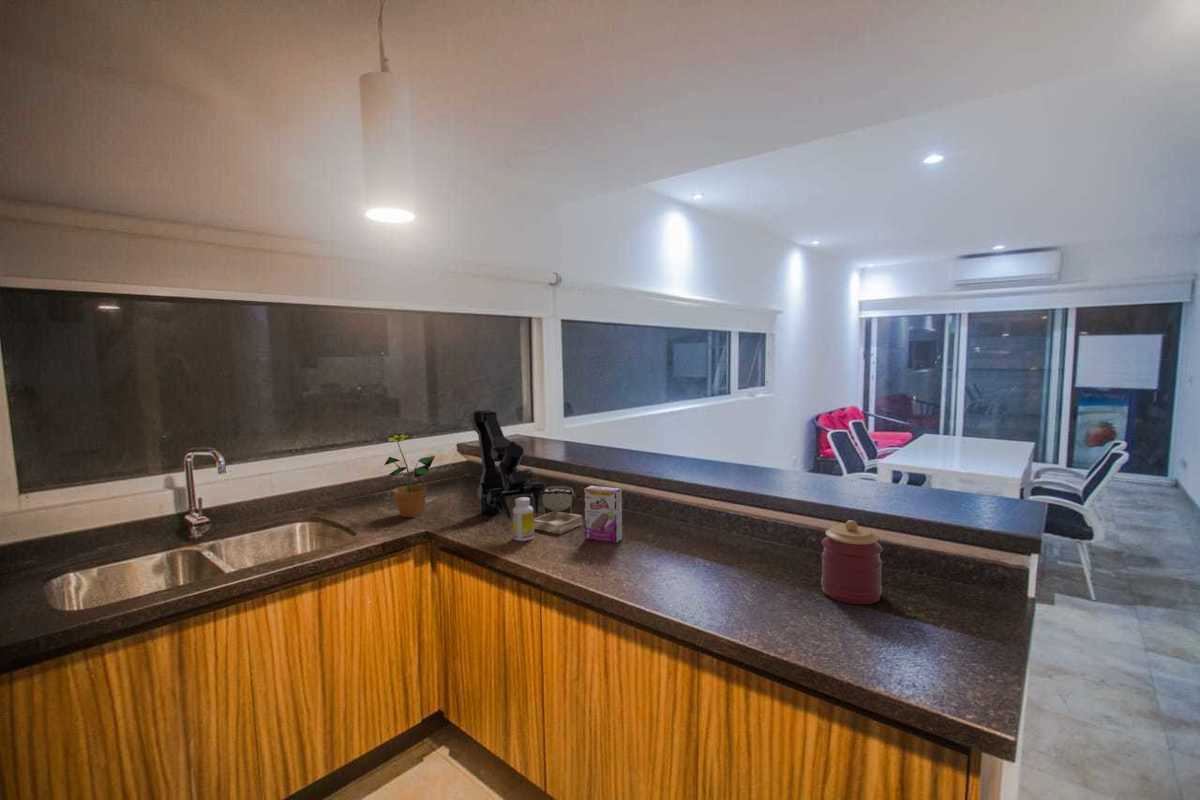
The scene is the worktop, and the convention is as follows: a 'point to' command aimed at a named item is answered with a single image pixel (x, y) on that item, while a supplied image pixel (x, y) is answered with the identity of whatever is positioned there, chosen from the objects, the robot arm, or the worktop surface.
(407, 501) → the potted plant
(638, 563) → the worktop surface
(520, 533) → the supplement bottle
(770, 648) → the worktop surface
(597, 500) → the candy bar box
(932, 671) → the worktop surface
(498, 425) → the robot arm
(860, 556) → the canister
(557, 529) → the box
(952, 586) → the worktop surface
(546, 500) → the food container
